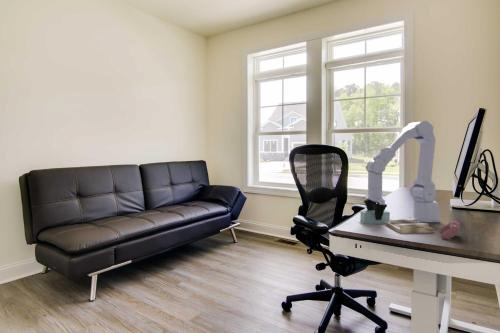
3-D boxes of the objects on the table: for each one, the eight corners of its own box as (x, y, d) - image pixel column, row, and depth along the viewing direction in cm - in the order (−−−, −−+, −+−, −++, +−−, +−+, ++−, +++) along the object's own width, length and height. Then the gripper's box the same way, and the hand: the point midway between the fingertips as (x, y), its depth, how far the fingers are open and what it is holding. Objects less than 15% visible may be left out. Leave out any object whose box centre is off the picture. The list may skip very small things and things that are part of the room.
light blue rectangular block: (384, 221, 133) (385, 210, 133) (389, 223, 129) (389, 212, 129) (360, 221, 134) (360, 210, 133) (364, 224, 129) (364, 212, 129)
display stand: (416, 225, 125) (416, 218, 125) (433, 232, 114) (433, 224, 114) (386, 225, 125) (386, 218, 125) (399, 233, 114) (399, 225, 114)
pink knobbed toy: (453, 244, 104) (464, 228, 102) (439, 237, 106) (450, 221, 104) (451, 237, 113) (462, 222, 111) (438, 230, 115) (449, 215, 113)
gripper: (359, 185, 138) (359, 214, 138) (373, 189, 123) (372, 222, 124) (374, 185, 138) (374, 214, 138) (389, 189, 123) (389, 221, 124)
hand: (374, 217), depth 131 cm, fingers open, 7 cm apart
